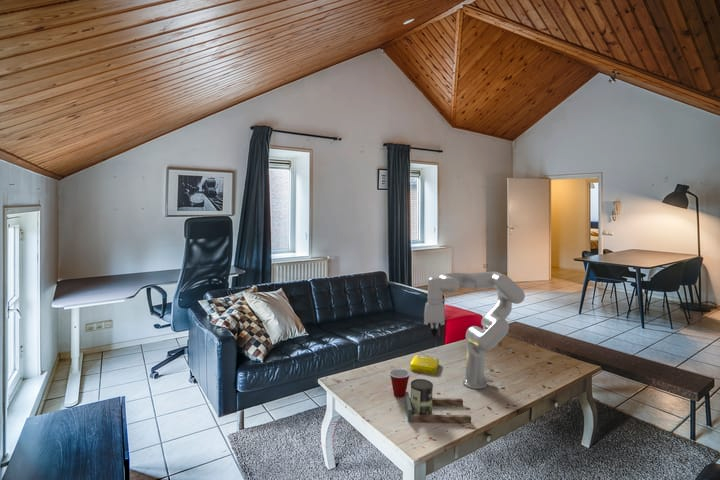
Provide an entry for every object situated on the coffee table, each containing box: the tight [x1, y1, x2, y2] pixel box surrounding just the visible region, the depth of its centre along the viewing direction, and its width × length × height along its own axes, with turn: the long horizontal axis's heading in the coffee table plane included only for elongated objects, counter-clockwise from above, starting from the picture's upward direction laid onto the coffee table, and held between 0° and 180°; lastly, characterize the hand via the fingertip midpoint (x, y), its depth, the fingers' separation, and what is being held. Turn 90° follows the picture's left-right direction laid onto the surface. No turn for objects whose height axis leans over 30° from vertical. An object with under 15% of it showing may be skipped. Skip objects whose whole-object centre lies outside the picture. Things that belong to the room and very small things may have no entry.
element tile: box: [409, 354, 440, 375], centre depth 229 cm, size 15×15×5 cm
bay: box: [404, 391, 472, 424], centre depth 180 cm, size 28×16×6 cm, turn 89°
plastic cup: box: [388, 368, 411, 398], centre depth 196 cm, size 11×11×12 cm
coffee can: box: [410, 378, 434, 415], centre depth 180 cm, size 10×10×14 cm
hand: (433, 335), depth 200 cm, fingers closed
